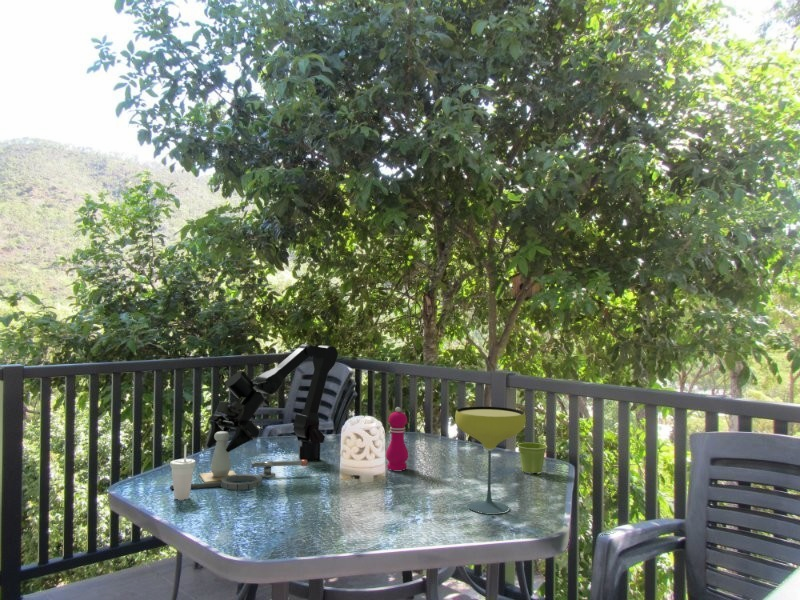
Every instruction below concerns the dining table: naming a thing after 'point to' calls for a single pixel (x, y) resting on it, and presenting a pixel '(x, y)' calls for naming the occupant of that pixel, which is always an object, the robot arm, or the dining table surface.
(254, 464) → the clip
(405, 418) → the pepper mill
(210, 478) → the coaster
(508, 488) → the dining table surface
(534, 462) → the plant pot
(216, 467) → the salt shaker
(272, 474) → the clip post
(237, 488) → the grey ring with rod
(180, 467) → the smoothie
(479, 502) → the cocktail glass
